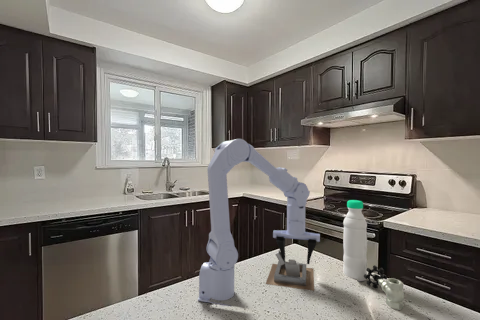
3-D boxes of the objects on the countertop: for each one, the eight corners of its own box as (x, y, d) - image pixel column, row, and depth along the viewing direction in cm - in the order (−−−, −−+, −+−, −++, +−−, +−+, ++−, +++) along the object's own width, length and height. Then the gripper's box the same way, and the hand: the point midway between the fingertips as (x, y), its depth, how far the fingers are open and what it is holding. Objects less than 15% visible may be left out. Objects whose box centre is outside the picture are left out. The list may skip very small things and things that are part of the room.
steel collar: (274, 282, 76) (274, 275, 76) (278, 266, 87) (278, 260, 87) (305, 286, 73) (305, 279, 73) (306, 269, 84) (306, 263, 84)
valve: (412, 311, 63) (385, 287, 75) (412, 285, 63) (385, 265, 75) (386, 311, 63) (363, 286, 75) (386, 285, 63) (363, 265, 75)
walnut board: (265, 287, 75) (265, 283, 75) (272, 266, 89) (272, 263, 89) (314, 294, 71) (314, 290, 71) (313, 271, 85) (313, 268, 85)
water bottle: (356, 271, 86) (356, 198, 86) (372, 280, 79) (372, 202, 79) (338, 273, 84) (338, 199, 84) (353, 283, 77) (353, 203, 77)
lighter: (300, 275, 79) (297, 250, 79) (299, 278, 77) (297, 252, 77) (278, 274, 81) (275, 250, 81) (277, 277, 79) (274, 252, 80)
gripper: (319, 217, 81) (319, 259, 81) (275, 215, 85) (274, 254, 85) (320, 223, 75) (320, 268, 75) (272, 219, 78) (271, 262, 78)
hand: (295, 261), depth 79 cm, fingers open, 7 cm apart
